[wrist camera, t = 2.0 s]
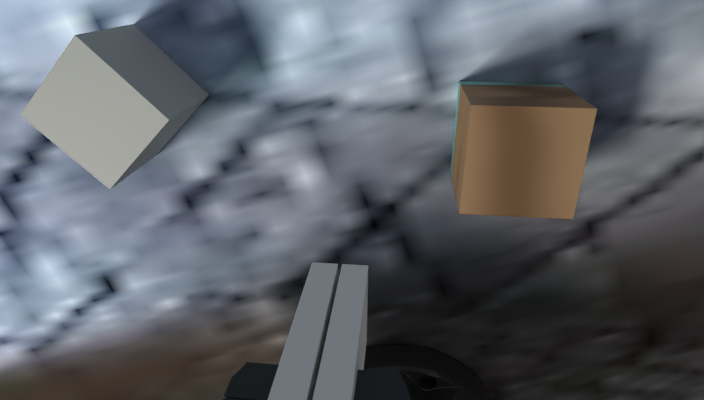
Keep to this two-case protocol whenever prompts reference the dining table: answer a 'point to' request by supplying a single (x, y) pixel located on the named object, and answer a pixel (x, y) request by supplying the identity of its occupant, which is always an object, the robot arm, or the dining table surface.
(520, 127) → the brown and green cube
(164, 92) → the grey block
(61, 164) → the dining table surface
